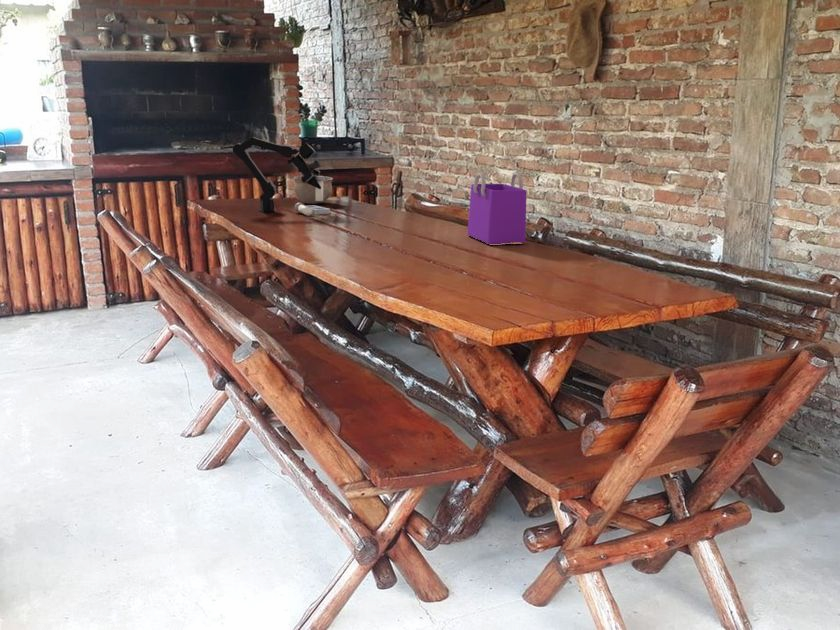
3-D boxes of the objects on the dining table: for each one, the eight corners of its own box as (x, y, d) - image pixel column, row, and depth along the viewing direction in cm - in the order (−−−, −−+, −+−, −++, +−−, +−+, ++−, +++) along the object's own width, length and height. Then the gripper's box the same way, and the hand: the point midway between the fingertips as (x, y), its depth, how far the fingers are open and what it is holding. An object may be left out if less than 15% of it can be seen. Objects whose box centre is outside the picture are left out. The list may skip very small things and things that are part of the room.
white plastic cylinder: (305, 218, 422) (314, 214, 424) (302, 209, 420) (311, 205, 422) (296, 213, 433) (305, 210, 435) (293, 204, 430) (302, 201, 432)
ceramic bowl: (319, 200, 485) (319, 174, 481) (340, 204, 468) (340, 178, 465) (286, 202, 471) (286, 176, 467) (307, 207, 455) (306, 179, 451)
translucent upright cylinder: (318, 201, 427) (319, 177, 424) (312, 200, 431) (312, 176, 427) (326, 200, 431) (326, 176, 428) (319, 199, 434) (320, 175, 431)
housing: (330, 213, 433) (330, 208, 433) (315, 214, 428) (315, 209, 427) (313, 209, 445) (313, 205, 445) (299, 210, 440) (299, 206, 439)
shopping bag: (457, 237, 372) (460, 170, 364) (497, 234, 383) (500, 169, 375) (493, 247, 349) (497, 176, 341) (534, 244, 359) (539, 175, 352)
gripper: (307, 156, 416) (328, 179, 418) (316, 153, 434) (336, 176, 436) (292, 171, 419) (313, 194, 421) (302, 168, 437) (322, 190, 439)
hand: (321, 188), depth 429 cm, fingers closed on translucent upright cylinder, 4 cm apart
